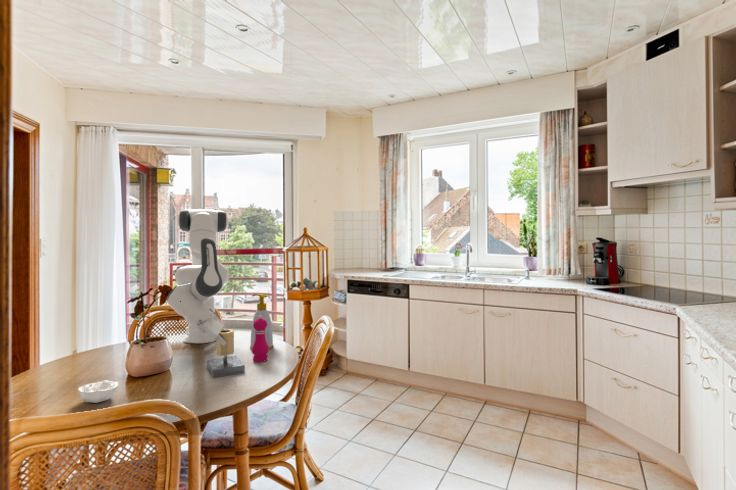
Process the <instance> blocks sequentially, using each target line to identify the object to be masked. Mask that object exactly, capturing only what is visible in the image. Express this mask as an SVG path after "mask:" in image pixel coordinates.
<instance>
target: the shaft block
mask: <svg viewBox="0 0 736 490" xmlns="http://www.w3.org/2000/svg"><path fill="white" fill-rule="evenodd" d="M206 369H207V370H208V372H209V373H210V375H211V376H212V378H213V379H216V378H220V377H225V376H226V377H227V376H232V375H238V374H243V373H245V372H246V369H245V364H244V362H243V361H242V360H241V359H240V358H239V357H238V356H237V355H233V356H232V355H231V356H230V355H229V356H228V355H223V357H219V358H212V359H206Z"/></svg>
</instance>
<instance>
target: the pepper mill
mask: <svg viewBox="0 0 736 490" xmlns="http://www.w3.org/2000/svg"><path fill="white" fill-rule="evenodd" d="M258 318H259V319H256V320H255V321H254V323H253V327H254V328H255V330H254V331H255V332H254V333H255V335H256V337H255V342H254V345H253V347H252V349H251V353H252V355H253V356H252V361H253V362H254V363H263V362H264V363H265V362H266V361H268V355H267V354H268V353H269V350H270V349H269V348H268V345H267V342H266V340H265V333H266V329H265V328H266V327H267V321H266V320H265V319H262V316H261V315H259V316H258Z"/></svg>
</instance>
